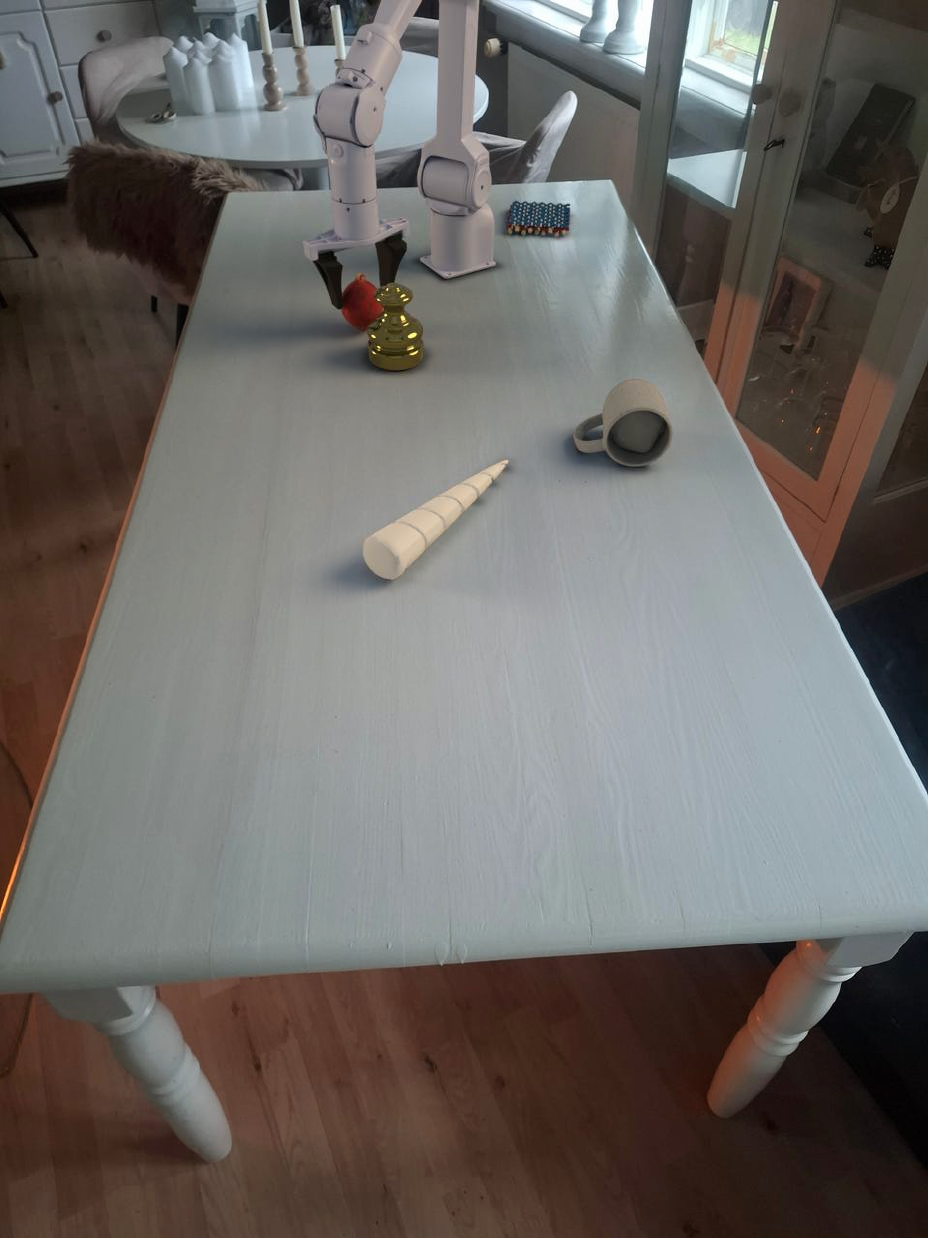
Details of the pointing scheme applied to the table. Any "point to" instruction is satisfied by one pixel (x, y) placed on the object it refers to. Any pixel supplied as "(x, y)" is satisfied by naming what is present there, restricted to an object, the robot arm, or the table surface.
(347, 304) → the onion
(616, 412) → the ceramic mug
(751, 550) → the table surface
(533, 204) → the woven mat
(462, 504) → the unicorn horn
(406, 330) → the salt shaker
